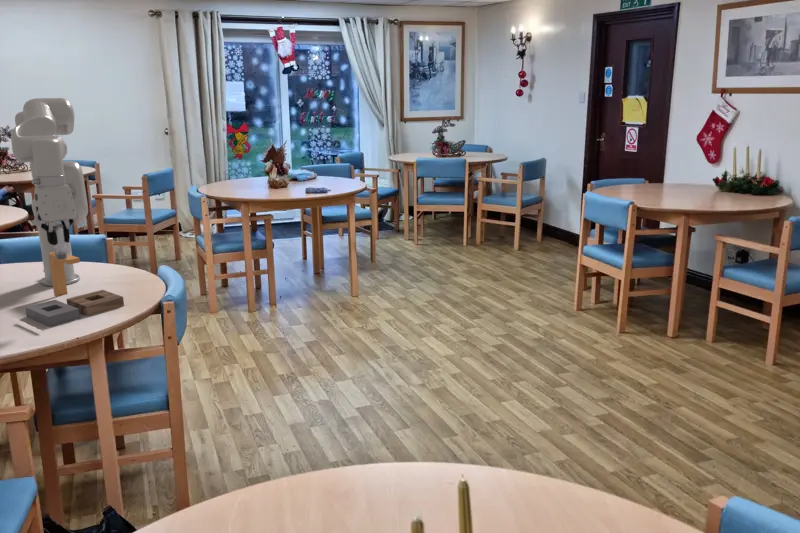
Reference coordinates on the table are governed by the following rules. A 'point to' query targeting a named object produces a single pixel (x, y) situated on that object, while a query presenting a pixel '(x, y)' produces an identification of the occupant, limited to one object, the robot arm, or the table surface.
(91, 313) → the socket block
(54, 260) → the orange angle bracket
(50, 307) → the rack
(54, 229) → the grey metal rod
